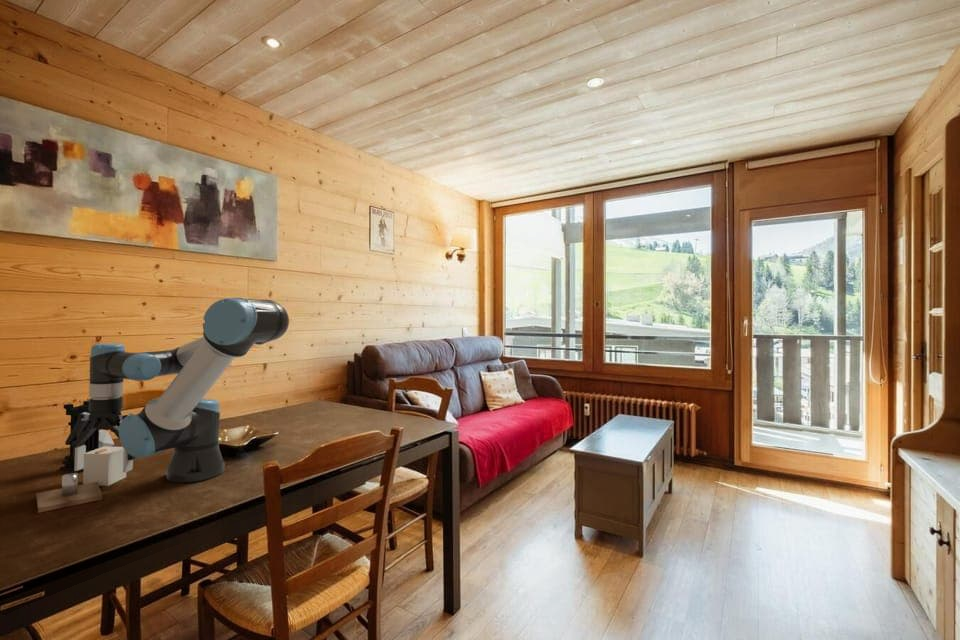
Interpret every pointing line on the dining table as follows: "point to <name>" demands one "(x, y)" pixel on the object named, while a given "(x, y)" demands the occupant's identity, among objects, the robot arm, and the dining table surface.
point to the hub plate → (68, 497)
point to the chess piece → (90, 443)
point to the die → (105, 439)
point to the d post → (69, 484)
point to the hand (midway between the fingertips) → (103, 470)
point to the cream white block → (103, 466)
